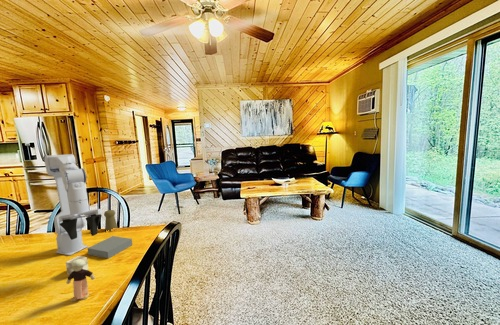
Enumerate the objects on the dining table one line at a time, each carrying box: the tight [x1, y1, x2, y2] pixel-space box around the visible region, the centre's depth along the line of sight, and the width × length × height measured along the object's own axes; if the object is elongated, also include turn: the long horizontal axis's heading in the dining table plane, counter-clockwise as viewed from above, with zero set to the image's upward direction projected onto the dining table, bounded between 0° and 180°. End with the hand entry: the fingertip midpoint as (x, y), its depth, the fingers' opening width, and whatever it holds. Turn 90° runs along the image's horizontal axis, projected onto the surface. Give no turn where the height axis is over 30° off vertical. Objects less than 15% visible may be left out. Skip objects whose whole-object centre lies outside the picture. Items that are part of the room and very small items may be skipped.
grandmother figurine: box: [65, 259, 96, 302], centre depth 66 cm, size 8×4×13 cm, turn 114°
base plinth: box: [87, 235, 133, 259], centre depth 96 cm, size 12×12×3 cm
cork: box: [103, 209, 119, 232], centre depth 118 cm, size 6×6×11 cm
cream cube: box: [65, 255, 89, 276], centre depth 80 cm, size 4×4×5 cm
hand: (84, 236), depth 79 cm, fingers open, 7 cm apart
